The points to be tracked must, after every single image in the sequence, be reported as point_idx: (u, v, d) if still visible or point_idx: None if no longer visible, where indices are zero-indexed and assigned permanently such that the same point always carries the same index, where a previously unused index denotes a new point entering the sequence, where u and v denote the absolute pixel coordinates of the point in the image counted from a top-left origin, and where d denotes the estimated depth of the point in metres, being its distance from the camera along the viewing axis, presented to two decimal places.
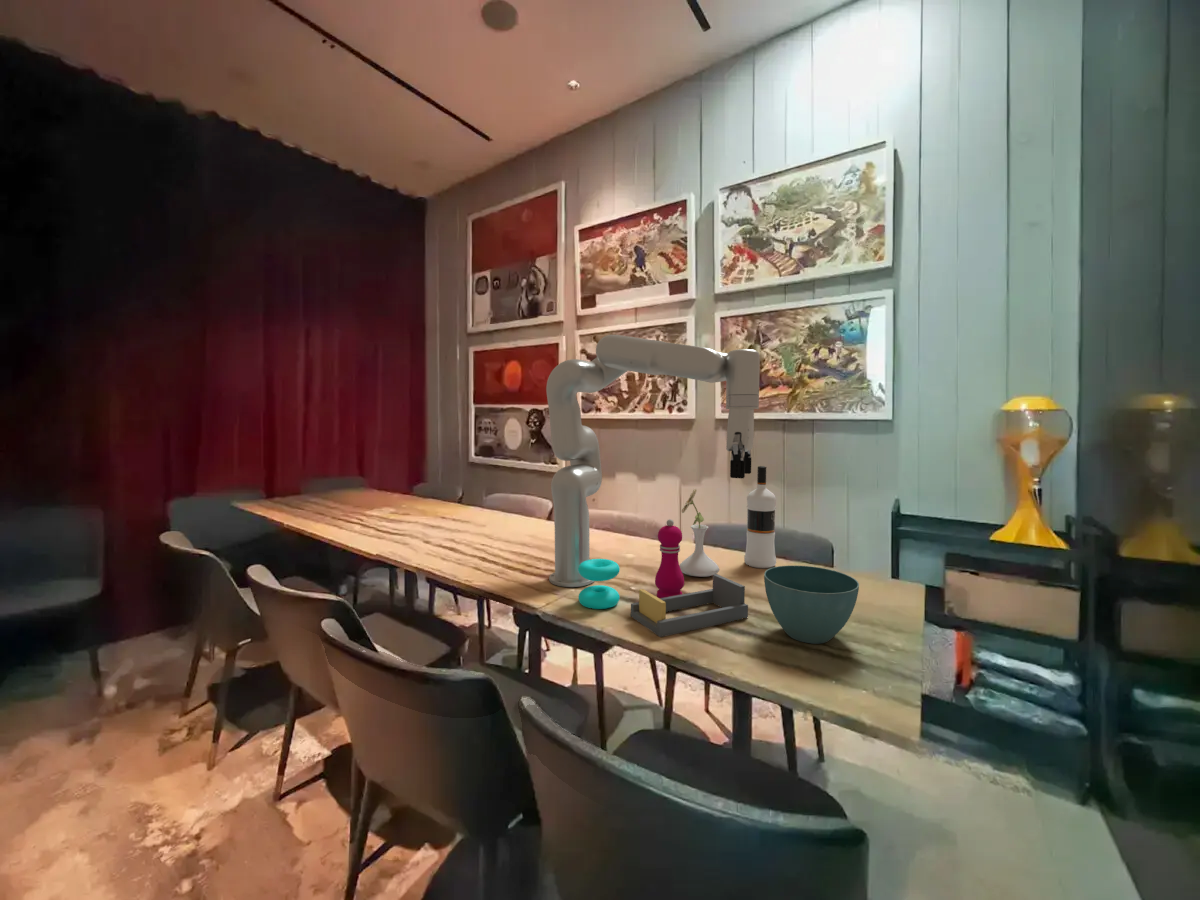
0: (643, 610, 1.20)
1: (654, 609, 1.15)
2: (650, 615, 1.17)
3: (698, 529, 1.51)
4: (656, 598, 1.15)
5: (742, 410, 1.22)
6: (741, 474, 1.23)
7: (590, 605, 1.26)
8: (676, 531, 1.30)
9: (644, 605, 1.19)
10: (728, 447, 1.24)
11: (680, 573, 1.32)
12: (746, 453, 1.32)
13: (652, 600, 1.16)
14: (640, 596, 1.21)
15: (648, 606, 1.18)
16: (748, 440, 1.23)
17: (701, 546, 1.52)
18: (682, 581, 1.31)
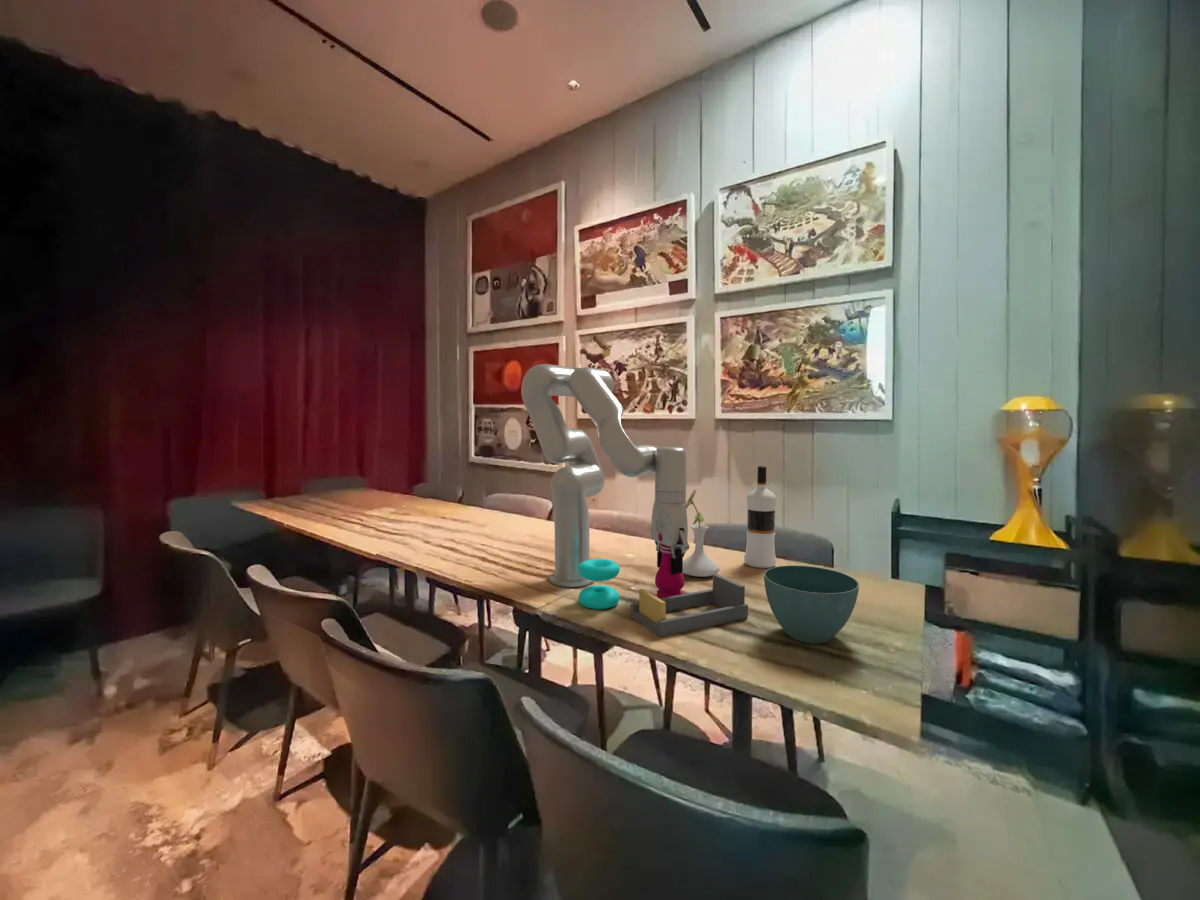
0: (643, 610, 1.20)
1: (654, 609, 1.15)
2: (650, 615, 1.17)
3: (698, 529, 1.51)
4: (656, 598, 1.15)
5: (683, 506, 1.28)
6: None
7: (590, 605, 1.26)
8: None
9: (644, 605, 1.19)
10: (673, 543, 1.27)
11: (680, 573, 1.32)
12: None
13: (652, 600, 1.16)
14: (640, 596, 1.21)
15: (648, 606, 1.18)
16: None
17: (701, 546, 1.52)
18: (682, 581, 1.31)
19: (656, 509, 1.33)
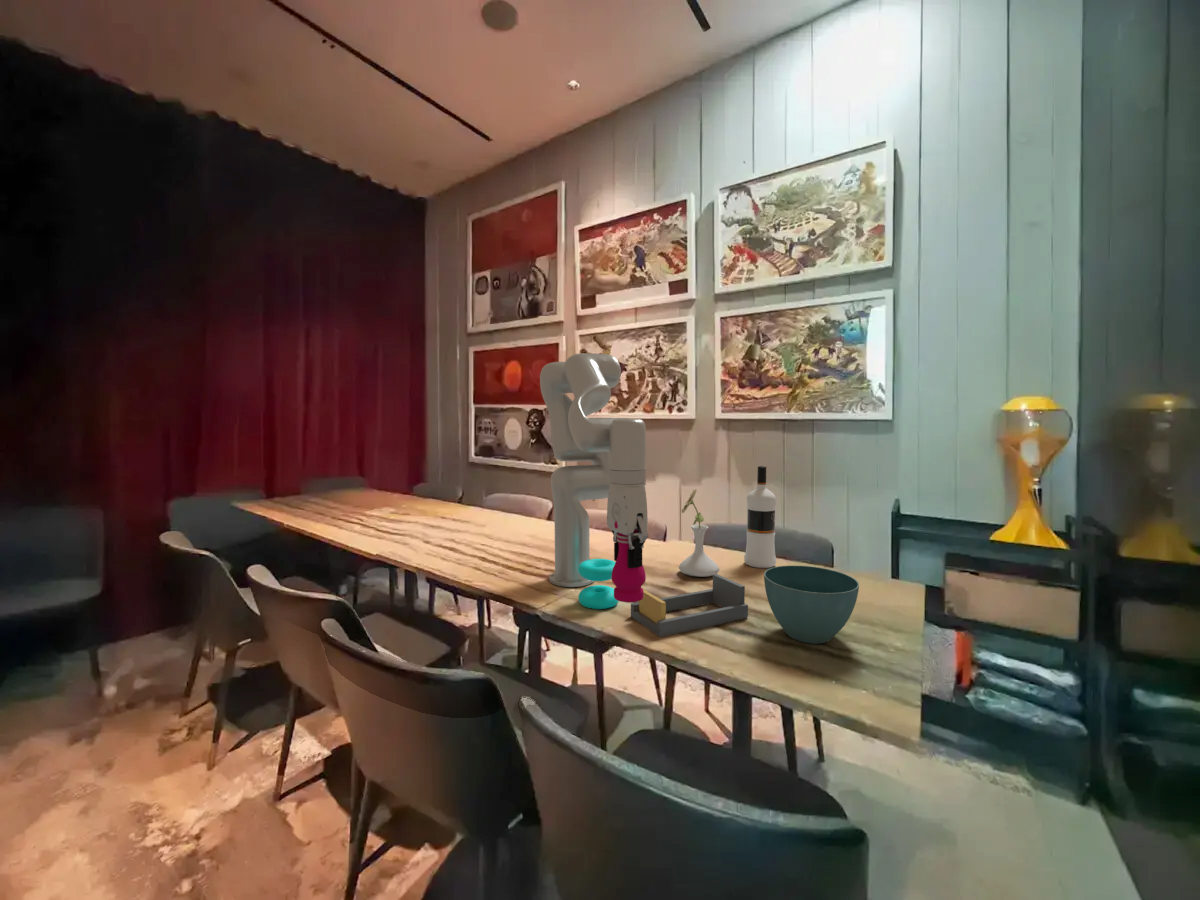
0: (643, 610, 1.20)
1: (654, 609, 1.15)
2: (650, 615, 1.17)
3: (698, 529, 1.51)
4: (656, 598, 1.15)
5: (641, 488, 1.09)
6: None
7: (590, 605, 1.26)
8: None
9: (644, 605, 1.19)
10: (630, 531, 1.08)
11: (640, 567, 1.12)
12: None
13: (652, 600, 1.16)
14: None
15: (648, 606, 1.18)
16: None
17: (701, 546, 1.52)
18: (642, 576, 1.12)
19: (612, 492, 1.13)
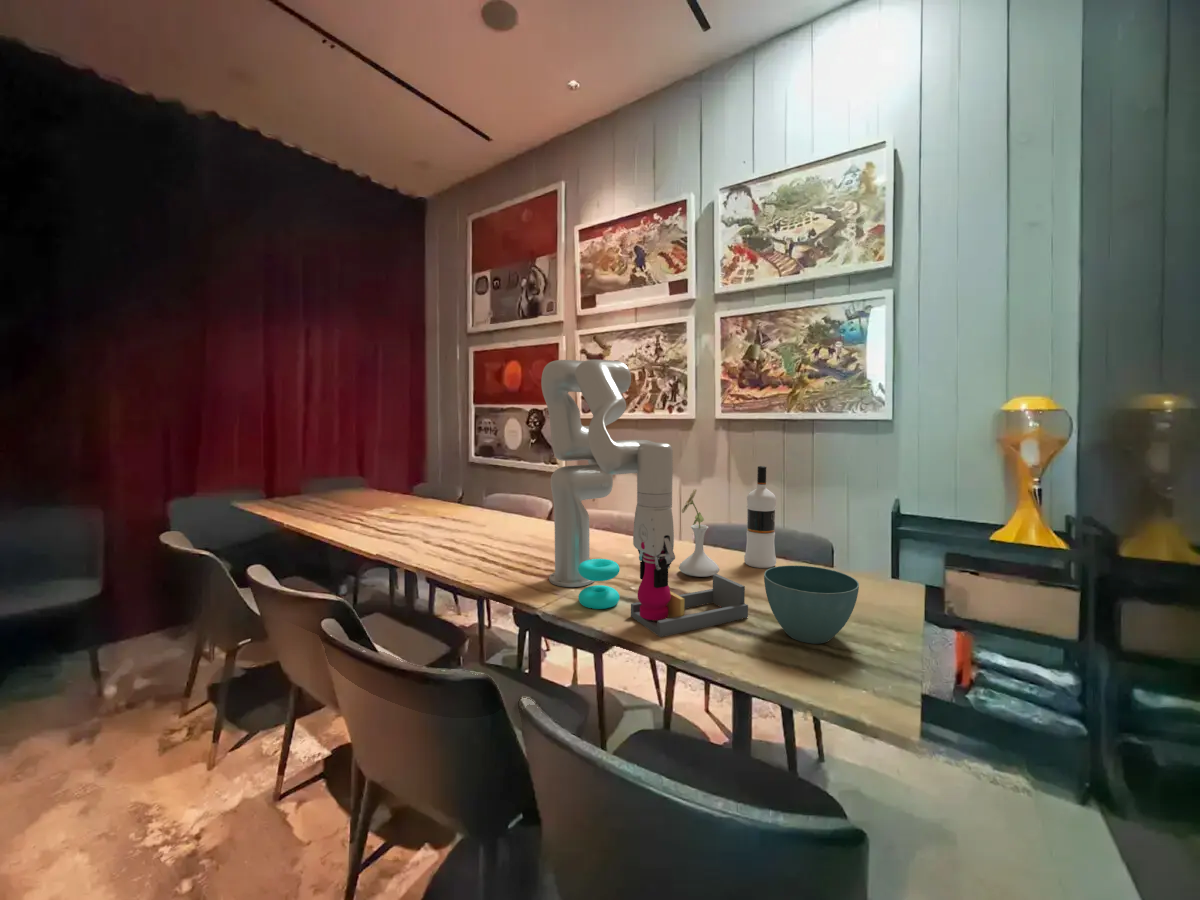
0: None
1: (673, 605, 1.17)
2: (668, 611, 1.19)
3: (698, 529, 1.51)
4: (675, 595, 1.17)
5: (668, 511, 1.12)
6: None
7: (590, 605, 1.26)
8: None
9: None
10: (657, 553, 1.11)
11: (666, 586, 1.16)
12: None
13: (671, 597, 1.18)
14: None
15: None
16: None
17: (701, 546, 1.52)
18: (668, 595, 1.15)
19: (639, 513, 1.17)
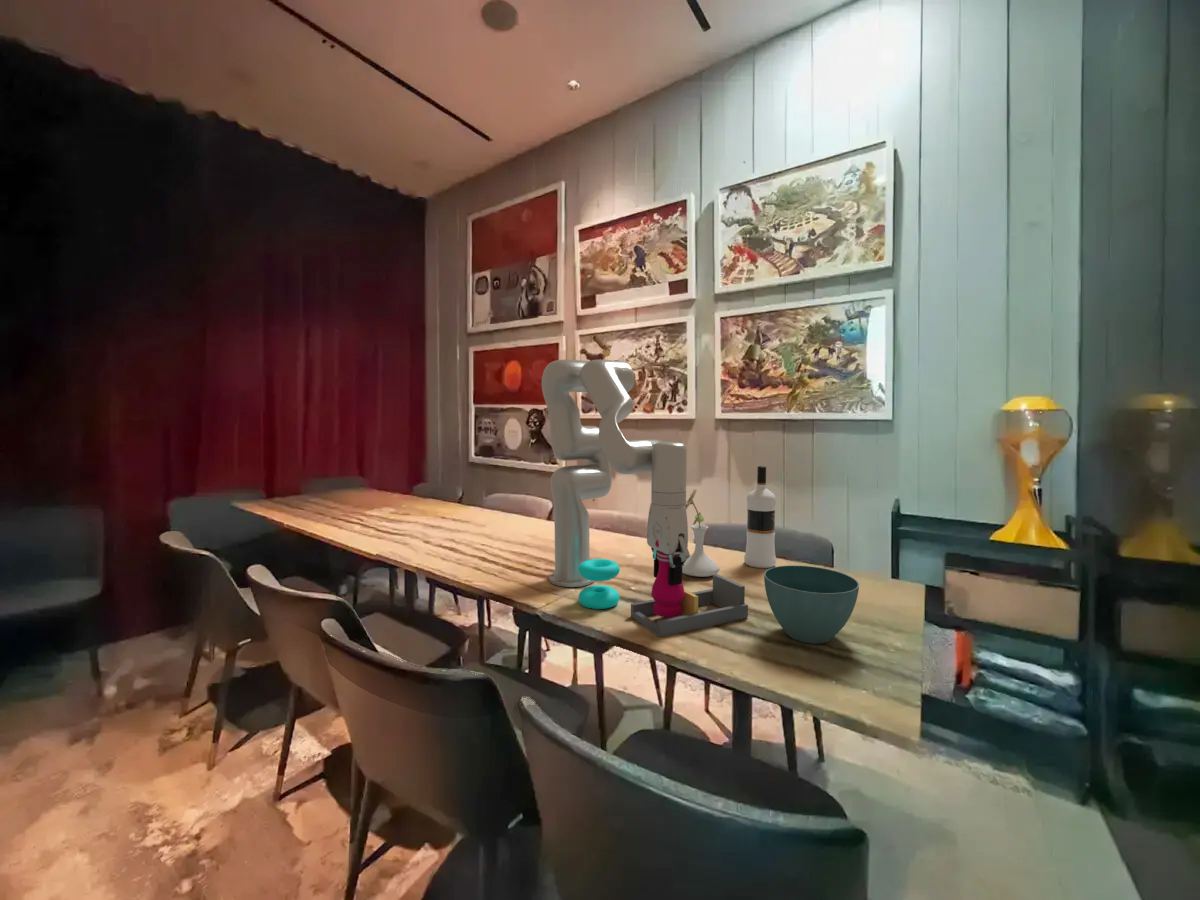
0: None
1: (686, 603, 1.19)
2: (682, 609, 1.21)
3: (698, 529, 1.51)
4: (688, 592, 1.19)
5: (682, 509, 1.14)
6: None
7: (590, 605, 1.26)
8: None
9: None
10: (672, 551, 1.13)
11: (680, 584, 1.17)
12: None
13: (684, 594, 1.20)
14: None
15: None
16: None
17: (701, 546, 1.52)
18: (682, 593, 1.17)
19: (653, 512, 1.18)
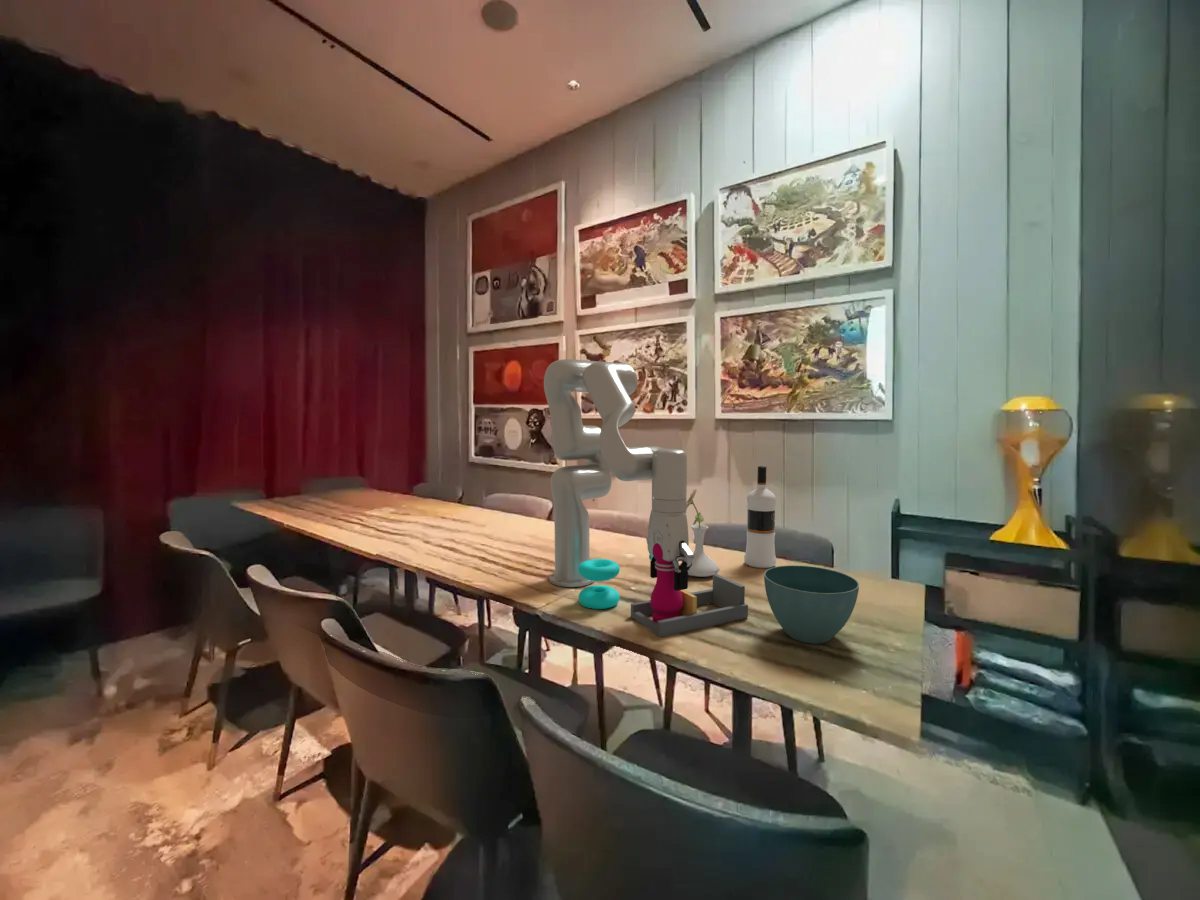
0: None
1: (685, 603, 1.19)
2: None
3: (698, 529, 1.51)
4: (687, 592, 1.19)
5: (683, 516, 1.14)
6: None
7: (590, 605, 1.26)
8: None
9: None
10: (673, 558, 1.13)
11: (678, 593, 1.17)
12: None
13: (683, 595, 1.19)
14: None
15: None
16: None
17: (701, 546, 1.52)
18: (680, 602, 1.17)
19: (654, 519, 1.18)
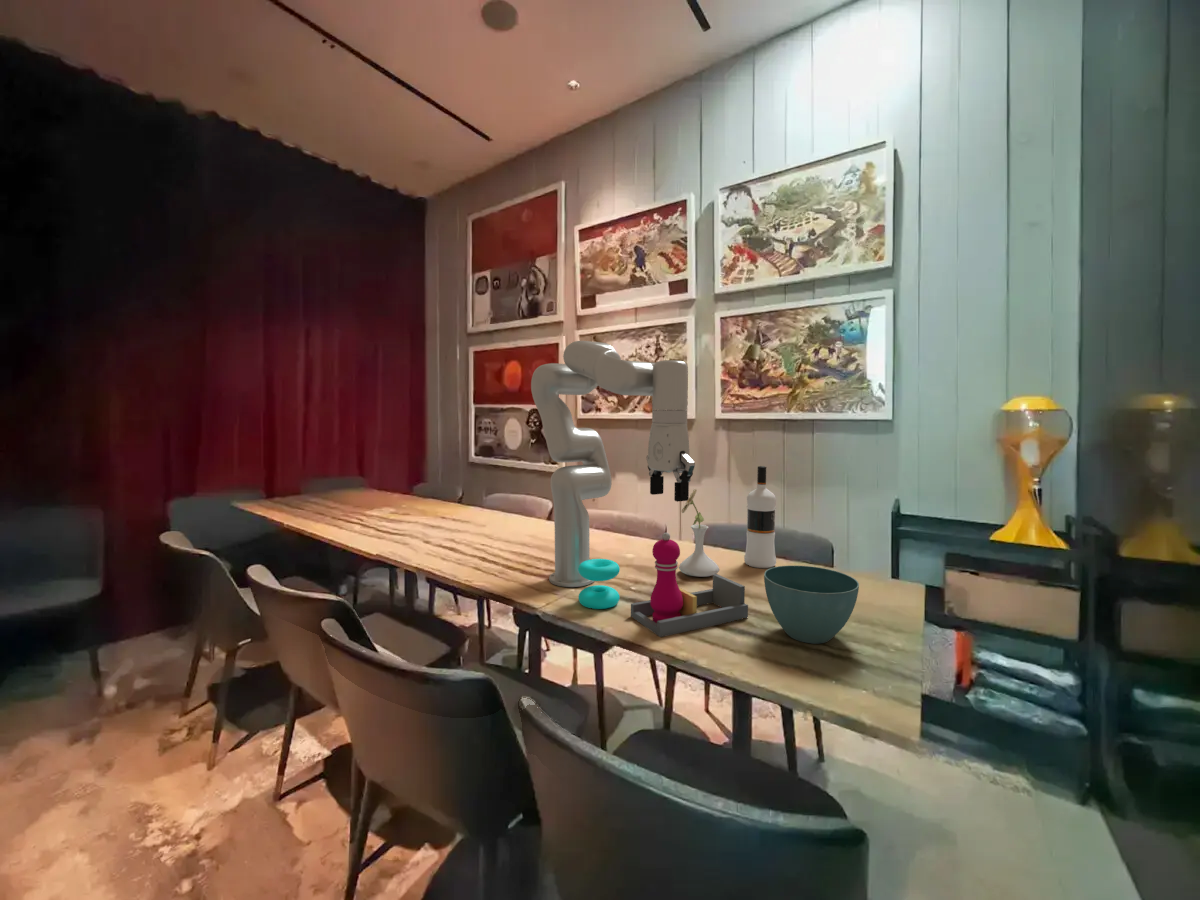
0: None
1: (685, 603, 1.19)
2: None
3: (698, 529, 1.51)
4: (687, 592, 1.19)
5: (684, 427, 1.13)
6: None
7: (590, 605, 1.26)
8: (672, 546, 1.16)
9: None
10: (673, 468, 1.12)
11: (678, 593, 1.17)
12: (658, 472, 1.22)
13: (683, 595, 1.19)
14: None
15: None
16: None
17: (701, 546, 1.52)
18: (680, 602, 1.17)
19: (654, 432, 1.17)
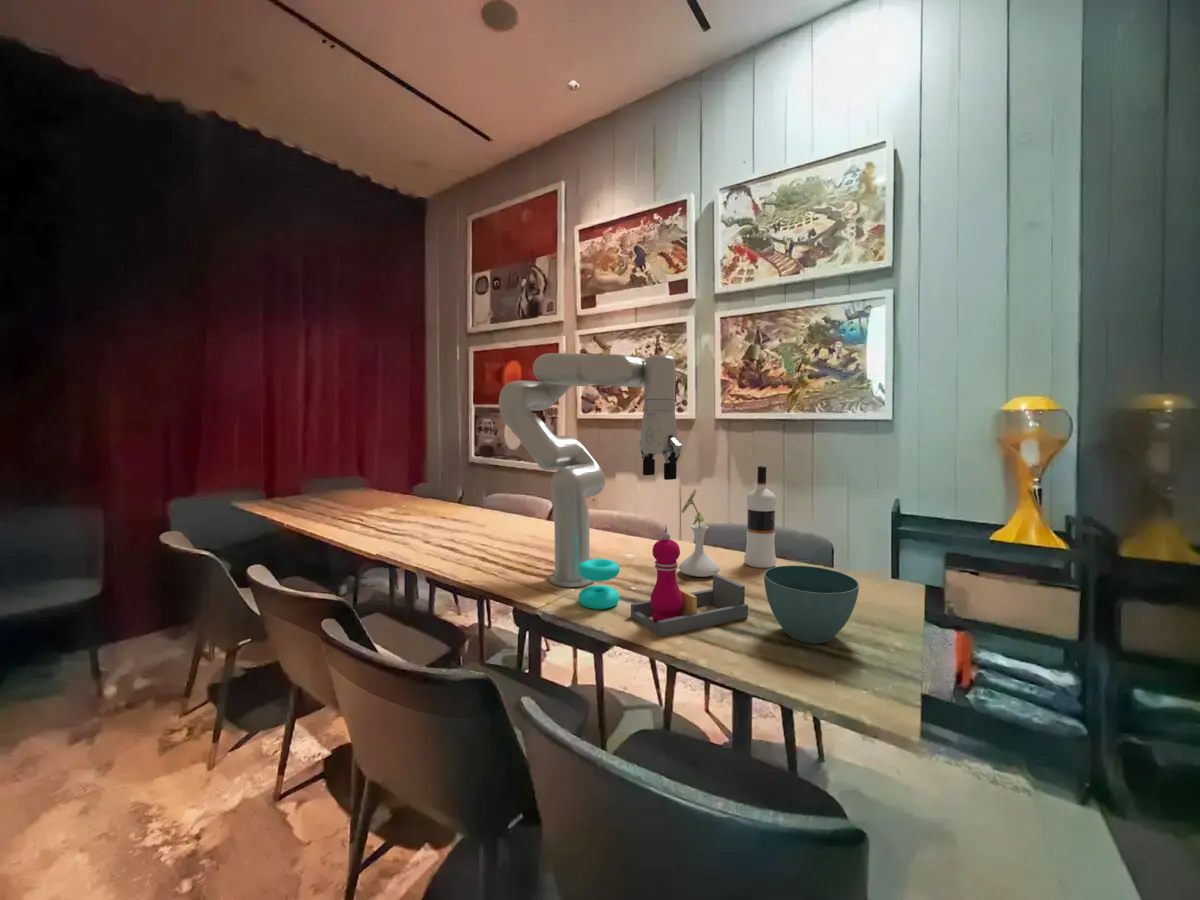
0: None
1: (685, 603, 1.19)
2: None
3: (698, 529, 1.51)
4: (687, 592, 1.19)
5: (672, 414, 1.28)
6: None
7: (590, 605, 1.26)
8: (672, 546, 1.16)
9: None
10: (662, 450, 1.27)
11: (678, 593, 1.17)
12: (650, 455, 1.37)
13: (683, 595, 1.19)
14: None
15: None
16: None
17: (701, 546, 1.52)
18: (680, 602, 1.17)
19: (646, 419, 1.32)
